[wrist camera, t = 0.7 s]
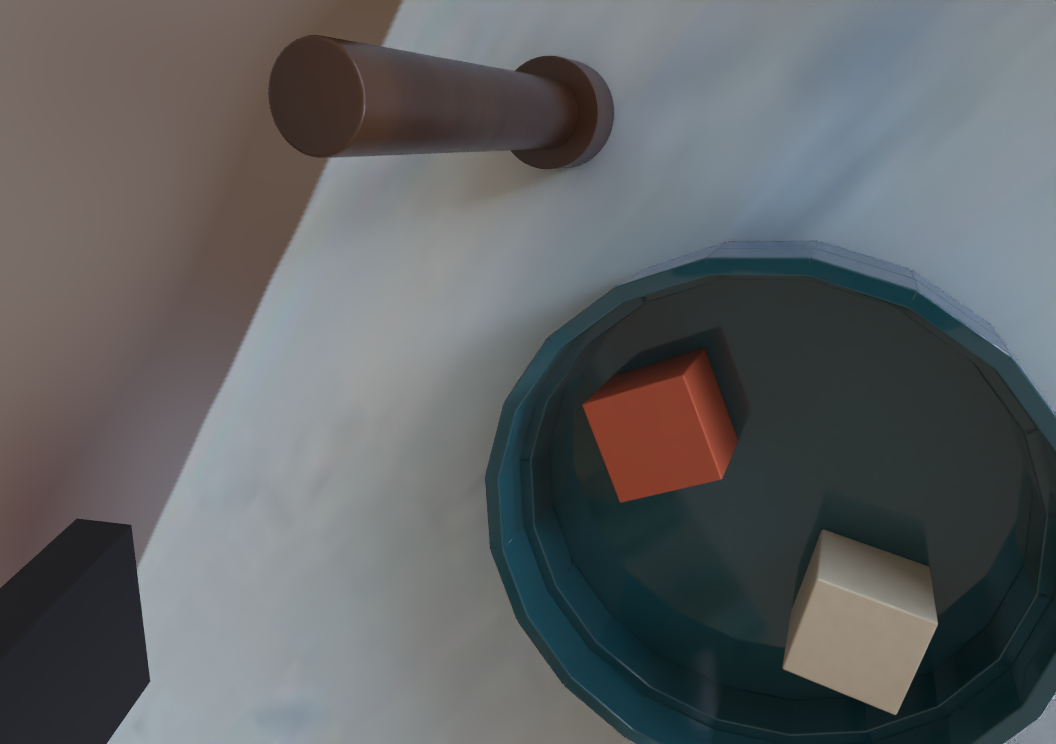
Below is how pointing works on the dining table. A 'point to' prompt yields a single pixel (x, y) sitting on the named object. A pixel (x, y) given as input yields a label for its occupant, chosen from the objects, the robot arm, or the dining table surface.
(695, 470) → the terracotta block
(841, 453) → the bowl
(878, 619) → the cream block
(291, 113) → the pestle
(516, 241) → the dining table surface
